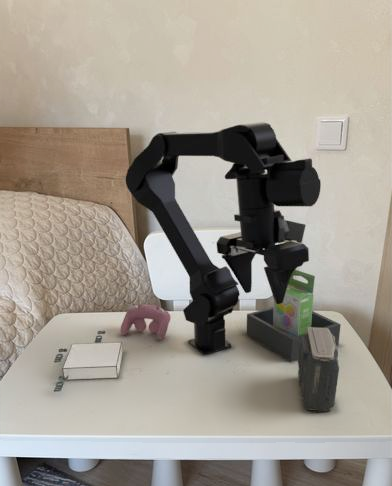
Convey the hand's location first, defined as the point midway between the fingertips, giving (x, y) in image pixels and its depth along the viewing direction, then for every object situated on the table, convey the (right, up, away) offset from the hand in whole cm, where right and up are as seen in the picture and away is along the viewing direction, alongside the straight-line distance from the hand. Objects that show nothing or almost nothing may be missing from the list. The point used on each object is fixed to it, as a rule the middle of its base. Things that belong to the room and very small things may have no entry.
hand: (263, 297), depth 90 cm
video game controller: (-22, -6, +19) cm, 30 cm away
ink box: (+7, -7, +14) cm, 18 cm away
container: (-31, -12, +6) cm, 34 cm away
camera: (+8, -16, -4) cm, 19 cm away
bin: (+7, -7, +14) cm, 18 cm away
